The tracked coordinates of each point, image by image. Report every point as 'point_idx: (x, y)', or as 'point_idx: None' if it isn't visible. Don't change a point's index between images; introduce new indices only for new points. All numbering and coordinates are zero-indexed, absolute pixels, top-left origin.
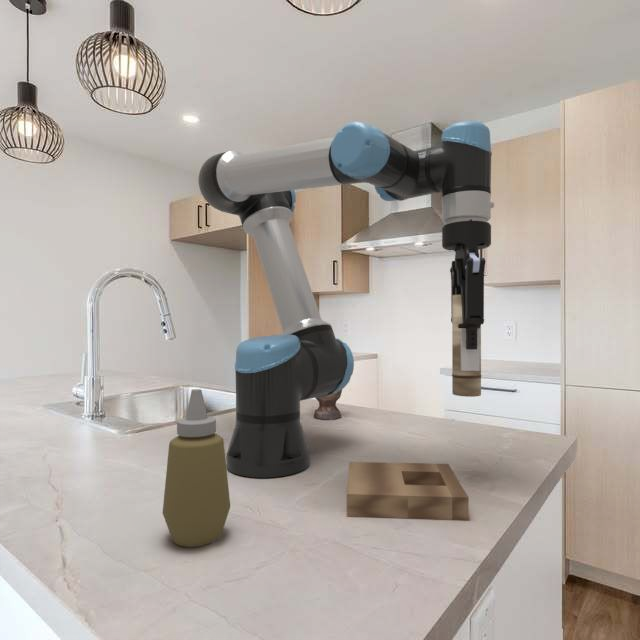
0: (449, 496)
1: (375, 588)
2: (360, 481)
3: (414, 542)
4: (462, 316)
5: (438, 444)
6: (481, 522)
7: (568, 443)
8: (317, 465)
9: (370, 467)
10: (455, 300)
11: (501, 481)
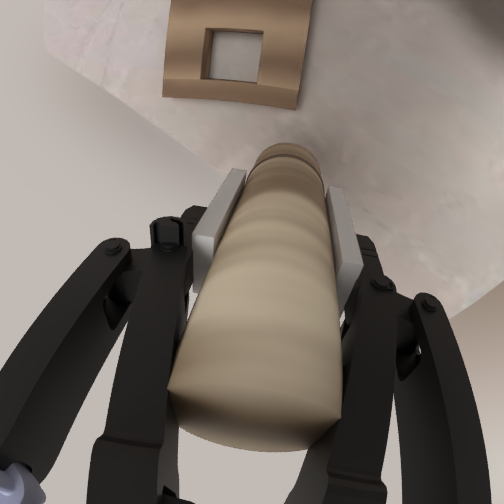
0: (164, 75)
1: (74, 16)
2: None
3: (129, 36)
4: (175, 274)
5: (463, 174)
6: (169, 106)
7: None
8: None
9: None
10: (214, 345)
11: None
